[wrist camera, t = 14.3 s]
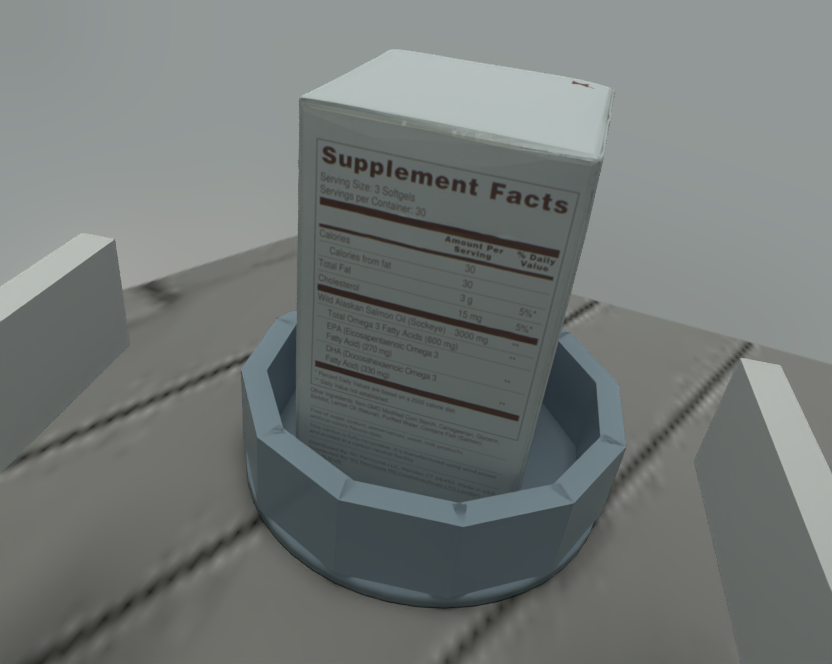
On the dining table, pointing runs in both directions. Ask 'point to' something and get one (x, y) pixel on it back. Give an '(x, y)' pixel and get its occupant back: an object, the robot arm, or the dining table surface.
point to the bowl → (426, 516)
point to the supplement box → (438, 264)
